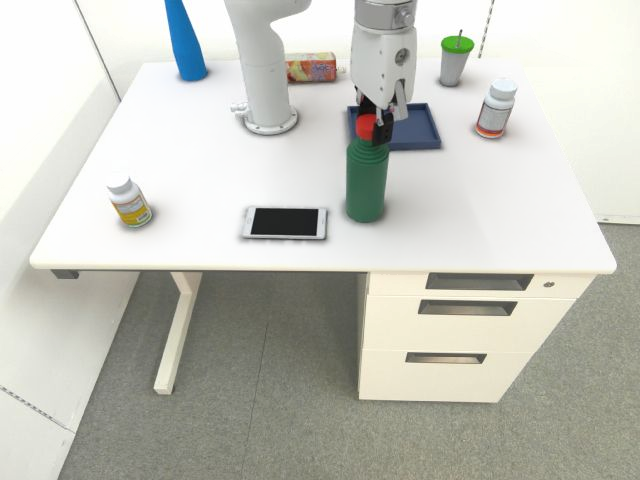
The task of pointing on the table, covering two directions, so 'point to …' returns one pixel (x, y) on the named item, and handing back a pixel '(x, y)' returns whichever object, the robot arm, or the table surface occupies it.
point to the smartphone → (285, 223)
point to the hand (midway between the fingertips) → (373, 133)
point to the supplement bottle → (128, 200)
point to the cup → (454, 58)
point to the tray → (406, 128)
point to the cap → (365, 126)
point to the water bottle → (365, 179)
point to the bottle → (184, 42)
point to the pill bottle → (496, 108)
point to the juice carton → (310, 66)
